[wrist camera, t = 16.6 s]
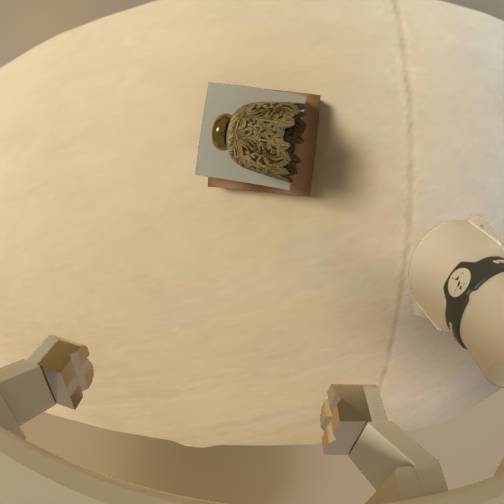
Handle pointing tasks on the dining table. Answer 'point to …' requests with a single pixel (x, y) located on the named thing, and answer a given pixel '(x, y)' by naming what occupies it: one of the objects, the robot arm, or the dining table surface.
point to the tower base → (304, 151)
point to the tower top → (229, 101)
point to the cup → (263, 137)
